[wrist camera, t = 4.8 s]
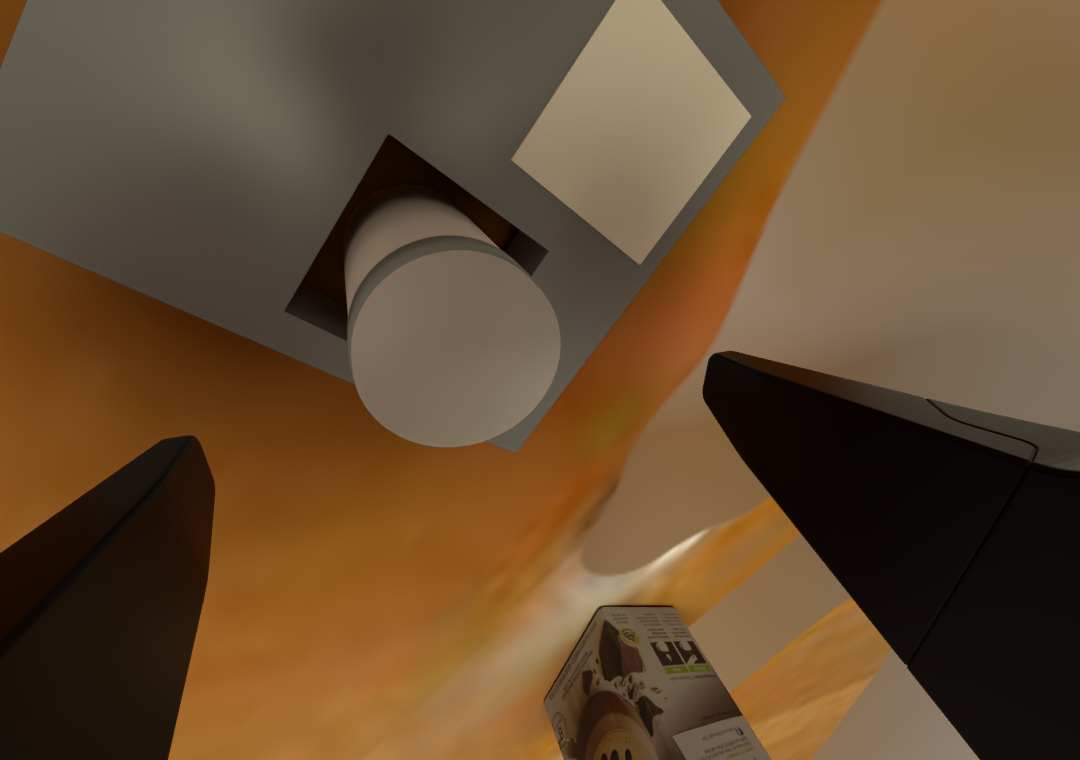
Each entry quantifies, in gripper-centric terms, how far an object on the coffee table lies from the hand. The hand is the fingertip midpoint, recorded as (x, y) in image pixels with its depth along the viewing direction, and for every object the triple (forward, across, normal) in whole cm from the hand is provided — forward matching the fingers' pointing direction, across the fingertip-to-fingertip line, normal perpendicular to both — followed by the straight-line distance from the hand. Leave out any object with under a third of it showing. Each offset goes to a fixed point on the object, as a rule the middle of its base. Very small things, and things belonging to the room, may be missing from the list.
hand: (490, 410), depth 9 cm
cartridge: (+11, 0, 0) cm, 11 cm away
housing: (+11, -1, -4) cm, 11 cm away
